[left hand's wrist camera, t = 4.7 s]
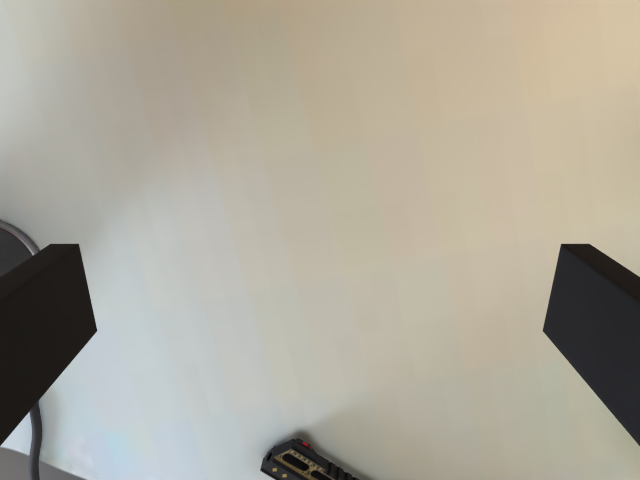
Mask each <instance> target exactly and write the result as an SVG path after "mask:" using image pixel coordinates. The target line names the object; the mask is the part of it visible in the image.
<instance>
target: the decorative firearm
mask: <svg viewBox="0 0 640 480" xmlns="http://www.w3.org/2000/svg"><path fill="white" fill-rule="evenodd" d="M260 471H262V472H263V473H265V474H267V475H268V476H270V477H272V478H273V479H275V480H359V479H357V478H356V477H355V478H354V477H352V475H351V474H349V473H348V472H347V473H346V472H344V470H343V469H341V468H340V467H336V466H335V464H333V463H332V462H329V460H326V459H325V458H323V457H321V456H320V455H318V454H317V453H316V452H315V451H314V450H313V449H312V448H311V446H310V445H309V444H306V443H305V442H303V440H301V439H296V440H294V439H292V440H290V441H288V442H286V443H284V444H282V445H280V446H278V447H274V448H272V449H271V450H270V451H269V452H268V453H267V455H266V457H265V458H263V461H262V465H261V470H260Z"/></svg>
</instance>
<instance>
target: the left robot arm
mask: <svg viewBox="0 0 640 480" xmlns="http://www.w3.org/2000/svg"><path fill="white" fill-rule="evenodd" d="M96 332H97V328H96V323H95V318H94V314H93V309H92V304H91V299H90V295H89V290H88V285H87V280H86V276H85V271H84V266H83V262H82V257H81V252H80V247H79V244H50V245H48V246H47V247H45V248H44V249H42V250H41V251H39V252H38V253H36V254H35V255H33V256H32V257H30V258H29V259H27V260H26V261H24V262H22V263H21V264H19V265H18V266H16V267H15V268H13V269H12V270H10V271H9V272H7V273H6V274H4V275H3V276H1V277H0V446H1V444H2V443H3V442H4V441H5V440H6V439H7V437H8V436H9V435H10V434H11V433H12V431H13V430H14V429H15V428H16V427H17V425H18V424H19V423H20V422H21V421H22V420H23V418H24V417H25V416H26V415H27V414H28V412H29V411H30V410H31V409H32V408H33V406H34V405H35V404H36V403H37V402H38V401H39V399H40V398H41V397H42V396H43V395H44V393H45V392H46V391H47V390H48V389H49V387H50V386H51V385H52V384H53V383H54V382H55V380H56V379H57V378H58V377H59V376H60V374H61V373H62V372H63V371H64V370H65V368H66V367H67V366H68V365H69V364H70V363H71V361H72V360H73V359H74V358H75V357H76V355H77V354H78V353H79V352H80V351H81V349H82V348H83V347H84V346H85V345H86V344H87V342H88V341H89V340H90V339H91V338H92V336H93V335H94V334H95V333H96ZM543 332H544V333H545V334H546V335H547V336H548V338H549V339H550V340H551V341H552V342H553V344H554V345H555V346H556V347H557V348H558V349H559V351H560V352H561V353H562V354H563V355H564V357H565V358H566V359H567V360H568V361H569V363H570V364H571V365H572V366H573V367H574V368H575V370H576V371H577V372H578V373H579V374H580V376H581V377H582V378H583V379H584V380H585V382H586V383H587V384H588V385H589V386H590V387H591V389H592V390H593V391H594V392H595V393H596V395H597V396H598V397H599V398H600V399H601V401H602V402H603V403H604V404H605V405H606V406H607V408H608V409H609V410H610V411H611V412H612V414H613V415H614V416H615V417H616V418H617V420H618V421H619V422H620V423H621V424H622V425H623V427H624V428H625V429H626V430H627V431H628V433H629V434H630V435H631V436H632V437H633V439H634V440H635V441H636V442H637V443H638V444H639V446H640V277H639V276H637V275H636V274H634V273H633V272H631V271H630V270H628V269H627V268H625V267H624V266H622V265H621V264H619V263H618V262H616V261H614V260H613V259H611V258H610V257H608V256H607V255H605V254H604V253H602V252H601V251H599V250H598V249H596V248H595V247H593V246H592V245H590V244H561V247H560V252H559V257H558V262H557V266H556V271H555V276H554V280H553V285H552V290H551V295H550V299H549V304H548V309H547V314H546V318H545V323H544V328H543Z"/></svg>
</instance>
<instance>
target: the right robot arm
mask: <svg viewBox="0 0 640 480" xmlns="http://www.w3.org/2000/svg"><path fill="white" fill-rule="evenodd" d="M38 252H39V251H38V249H37V248H36V246H35V245H34V244H33V242H32V241H31V240H30V239H29V238H28V237H27V236H26V235H24V234H23V233H22V232H21V231H19V230H18V229H16V228H15V227H13V226H11V225H9V224H7V223H4V222H1V221H0V277H1V276H3V275H4V274H6V273H7V272H9V271H10V270H12V269H13V268H15V267H16V266H18V265H19V264H21V263H22V262H24V261H26V260H27V259H29V258H30V257H32V256H33V255H35V254H36V253H38ZM29 412H30V417H31V423H32V442H31V449H30V456H29V475H30V480H40V479H39V467H38V463H39V453H40V447H41V440H42V423H41V416H40V410H39V405H38V402H37V403H36V404H35V405H34V406H33V408H32V409H31V410H30V411H29Z"/></svg>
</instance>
